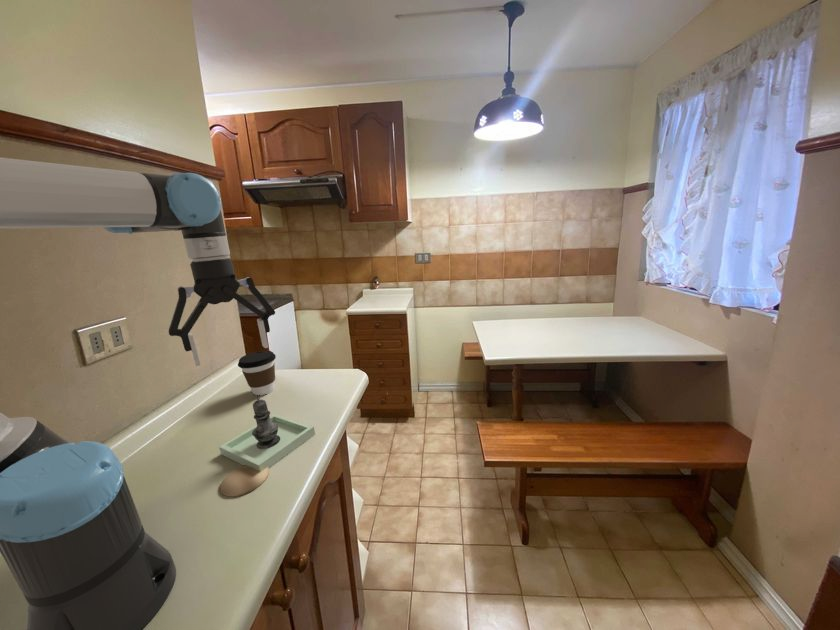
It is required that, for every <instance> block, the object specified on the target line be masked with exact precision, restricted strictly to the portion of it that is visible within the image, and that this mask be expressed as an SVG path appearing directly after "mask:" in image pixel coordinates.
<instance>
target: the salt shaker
mask: <svg viewBox="0 0 840 630" xmlns="http://www.w3.org/2000/svg"><path fill="white" fill-rule="evenodd" d="M252 409H253V411H254V412H253V413H254V415H253V418H254V419H255V422H256V425H257V427H256V428H255V429H254V430H253V431H252V435H253V436H254V437H255V438H256V440H258V443H257V448H259V449H268V448H271V447H273V446H275V445H276V444H277V443H278V442H279V441H280V436H278V435H277V432H278V427H279V424H278V423H276V422H271V420H270V416H271V411H270V410H268V405H267V401H266V400H264V399H260V397H259V396H257V397H256V400H255V401H254V402H253V404H252Z"/></svg>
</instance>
